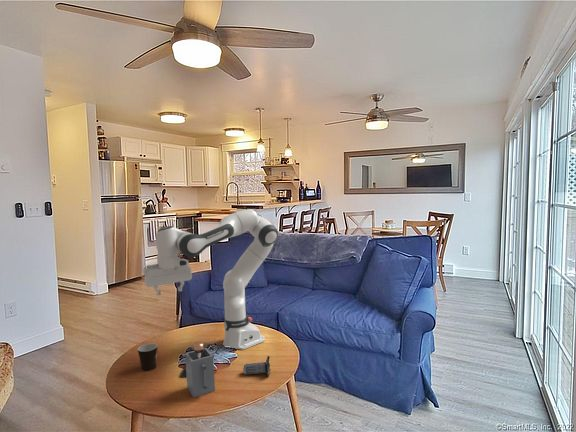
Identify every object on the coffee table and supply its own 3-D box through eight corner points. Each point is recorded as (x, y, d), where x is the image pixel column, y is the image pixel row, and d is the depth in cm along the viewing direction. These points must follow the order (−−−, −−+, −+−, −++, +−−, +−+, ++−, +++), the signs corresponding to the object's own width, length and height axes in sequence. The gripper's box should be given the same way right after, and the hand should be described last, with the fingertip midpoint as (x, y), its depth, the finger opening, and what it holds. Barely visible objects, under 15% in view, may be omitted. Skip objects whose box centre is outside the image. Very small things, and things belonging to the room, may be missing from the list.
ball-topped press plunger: (205, 370, 153) (203, 339, 152) (210, 377, 148) (208, 344, 147) (190, 375, 150) (188, 343, 149) (194, 382, 144) (193, 348, 143)
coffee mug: (151, 373, 164) (150, 352, 163) (135, 371, 165) (133, 350, 165) (165, 361, 175) (164, 341, 174) (149, 359, 177) (148, 340, 176)
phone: (204, 359, 174) (196, 375, 159) (204, 361, 174) (196, 377, 159) (188, 359, 174) (179, 375, 159) (188, 362, 174) (179, 378, 159)
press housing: (207, 381, 155) (206, 347, 154) (217, 393, 145) (215, 358, 144) (187, 387, 151) (185, 353, 150) (195, 400, 141) (193, 364, 140)
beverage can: (271, 372, 164) (245, 374, 164) (269, 354, 165) (243, 357, 165) (270, 379, 155) (242, 381, 155) (269, 360, 156) (241, 363, 156)
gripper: (144, 267, 152) (146, 298, 153) (192, 260, 163) (193, 290, 164) (142, 264, 157) (143, 295, 158) (188, 258, 168) (189, 287, 169)
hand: (169, 292), depth 161 cm, fingers open, 8 cm apart
